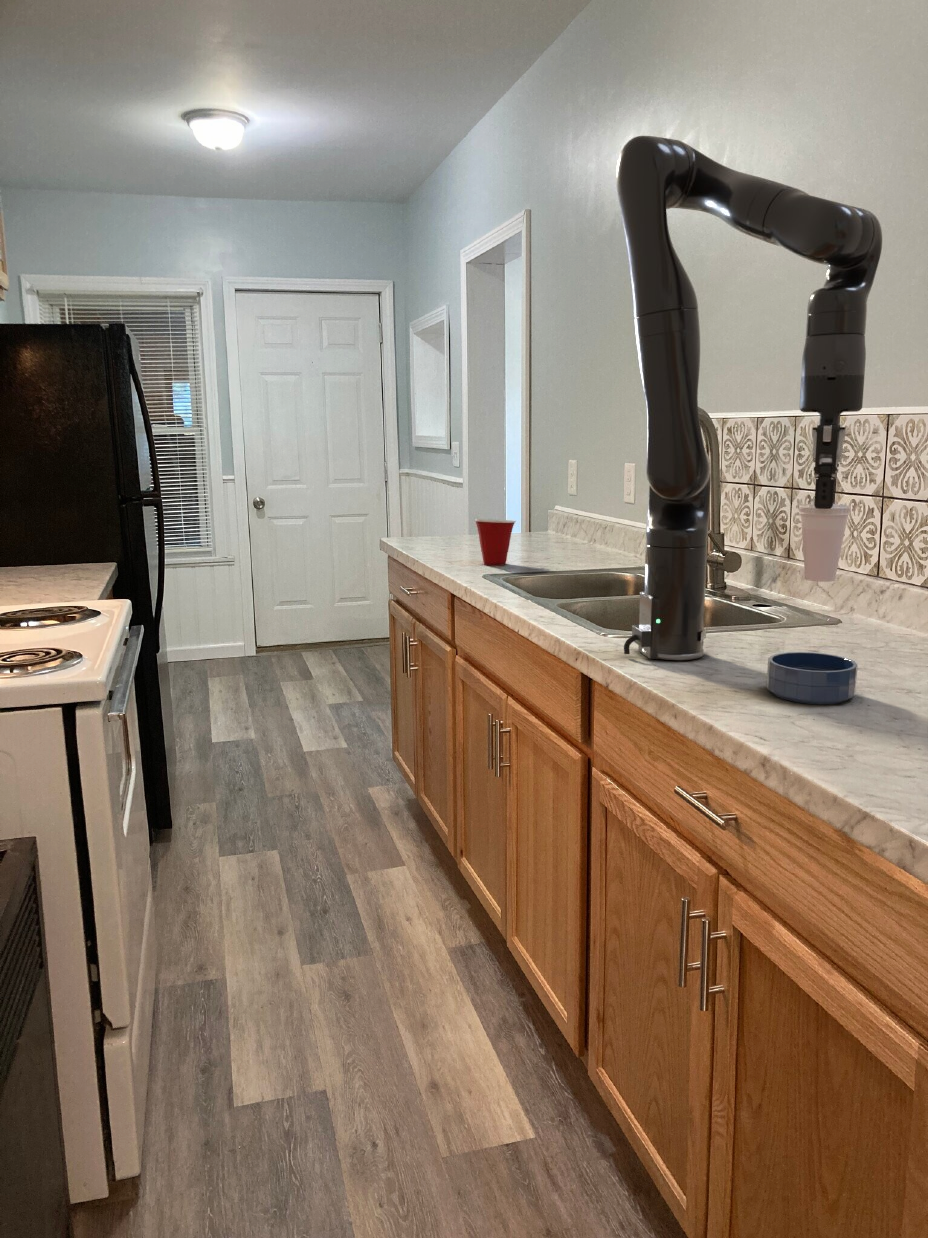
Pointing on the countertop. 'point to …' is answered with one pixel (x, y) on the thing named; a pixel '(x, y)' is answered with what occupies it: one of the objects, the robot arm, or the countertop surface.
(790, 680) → the bowl
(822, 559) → the smoothie
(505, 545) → the plastic cup
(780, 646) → the countertop surface
